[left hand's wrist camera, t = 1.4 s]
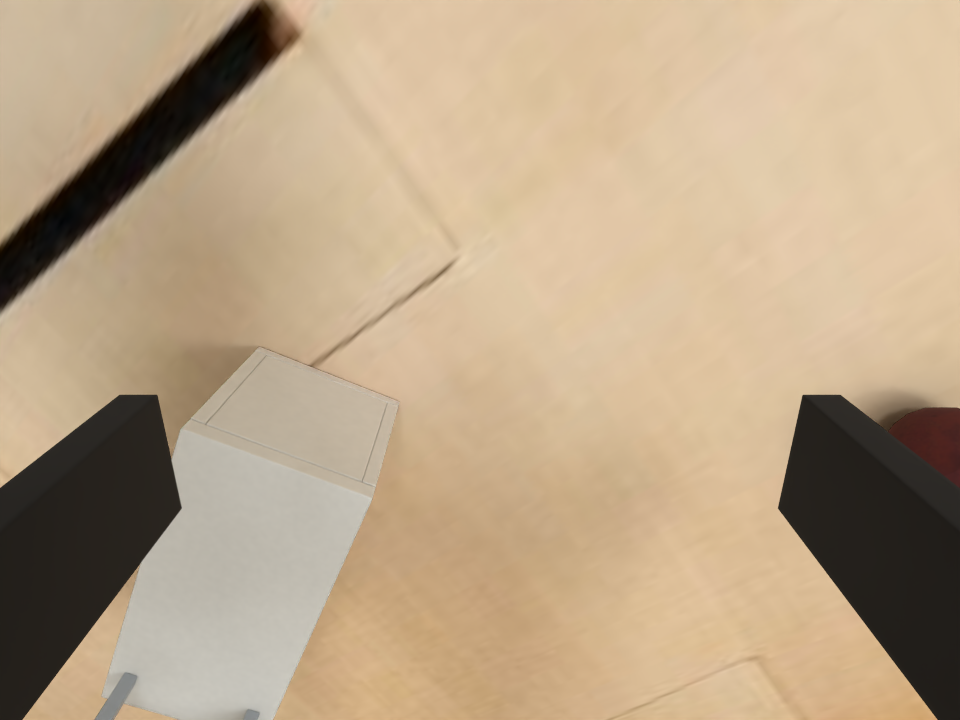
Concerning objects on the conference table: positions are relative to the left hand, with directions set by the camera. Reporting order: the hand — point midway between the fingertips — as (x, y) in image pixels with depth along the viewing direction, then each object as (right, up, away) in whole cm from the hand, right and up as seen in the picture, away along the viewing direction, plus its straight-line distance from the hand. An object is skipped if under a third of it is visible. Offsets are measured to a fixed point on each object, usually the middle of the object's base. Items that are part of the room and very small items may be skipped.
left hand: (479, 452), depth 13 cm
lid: (-13, -10, +18) cm, 24 cm away
